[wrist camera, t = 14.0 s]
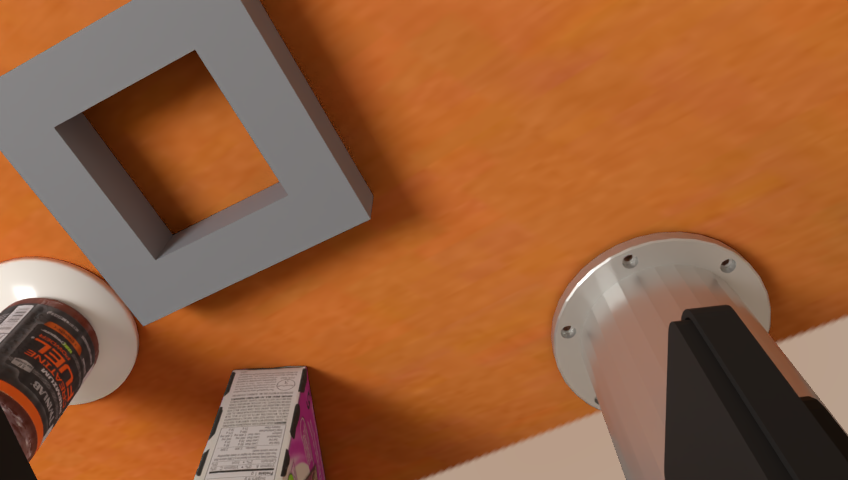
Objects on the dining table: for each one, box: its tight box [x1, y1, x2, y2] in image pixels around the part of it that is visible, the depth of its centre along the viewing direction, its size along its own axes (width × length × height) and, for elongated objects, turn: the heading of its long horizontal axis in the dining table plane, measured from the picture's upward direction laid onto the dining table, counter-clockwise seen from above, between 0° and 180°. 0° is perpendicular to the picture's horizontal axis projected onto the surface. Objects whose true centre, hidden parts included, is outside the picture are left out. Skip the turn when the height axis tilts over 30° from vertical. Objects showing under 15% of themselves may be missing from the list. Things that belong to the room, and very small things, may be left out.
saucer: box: [0, 257, 139, 405], centre depth 42 cm, size 10×10×1 cm
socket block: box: [0, 0, 373, 326], centre depth 36 cm, size 14×14×3 cm
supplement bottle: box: [0, 298, 99, 462], centre depth 37 cm, size 6×6×11 cm
